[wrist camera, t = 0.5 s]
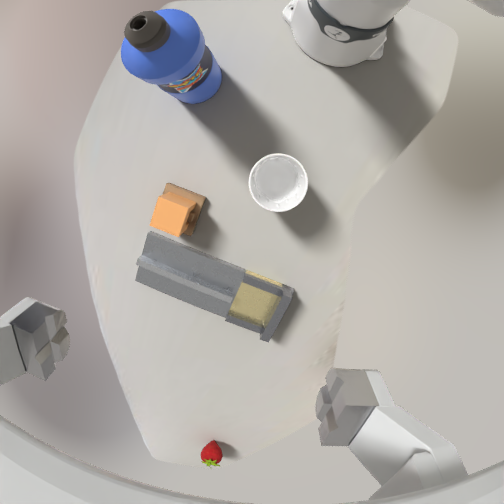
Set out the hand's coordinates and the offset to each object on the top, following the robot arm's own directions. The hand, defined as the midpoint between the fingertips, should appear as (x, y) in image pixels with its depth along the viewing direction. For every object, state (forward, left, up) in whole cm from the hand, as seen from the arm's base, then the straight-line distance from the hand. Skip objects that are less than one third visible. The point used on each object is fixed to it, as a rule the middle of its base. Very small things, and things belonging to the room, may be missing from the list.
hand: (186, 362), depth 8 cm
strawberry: (+67, +16, -43) cm, 81 cm away
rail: (+19, 0, -43) cm, 47 cm away
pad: (+8, -10, -43) cm, 45 cm away
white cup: (-3, +3, -43) cm, 43 cm away
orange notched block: (+8, -10, -42) cm, 43 cm away
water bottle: (-14, -16, -43) cm, 48 cm away
